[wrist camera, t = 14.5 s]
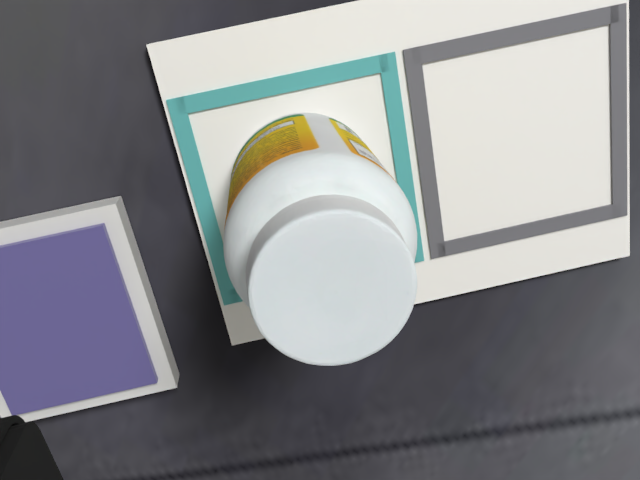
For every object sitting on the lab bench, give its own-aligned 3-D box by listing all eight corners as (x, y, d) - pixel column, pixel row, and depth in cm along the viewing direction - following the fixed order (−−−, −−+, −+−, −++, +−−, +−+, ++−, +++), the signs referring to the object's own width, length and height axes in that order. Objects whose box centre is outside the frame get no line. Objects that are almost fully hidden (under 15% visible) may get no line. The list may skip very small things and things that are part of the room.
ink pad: (-67, 236, 23) (-84, 249, 21) (121, 195, 23) (113, 206, 22) (14, 411, 26) (2, 431, 24) (179, 373, 26) (176, 392, 25)
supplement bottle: (385, 121, 23) (476, 197, 14) (358, 255, 24) (422, 400, 15) (238, 98, 22) (233, 164, 13) (221, 240, 24) (206, 382, 15)
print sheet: (148, 44, 21) (145, 44, 21) (622, -55, 22) (630, -57, 21) (231, 340, 26) (231, 346, 25) (624, 252, 26) (631, 256, 26)
